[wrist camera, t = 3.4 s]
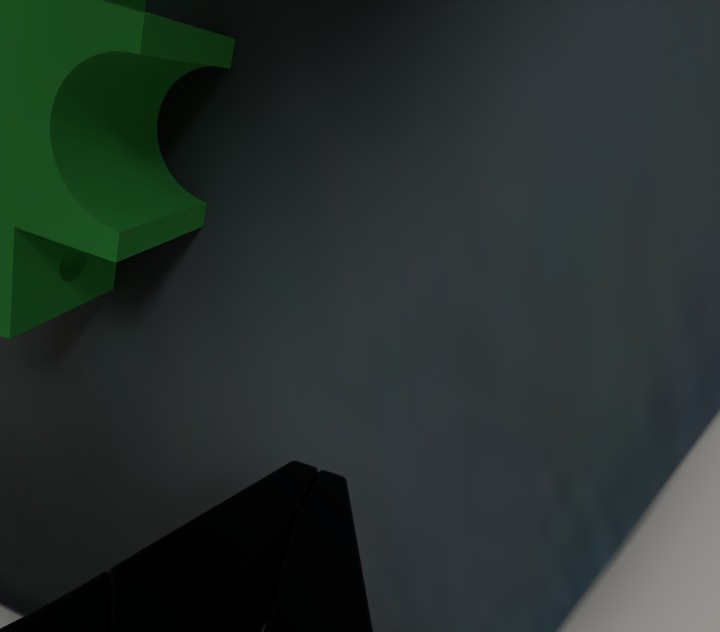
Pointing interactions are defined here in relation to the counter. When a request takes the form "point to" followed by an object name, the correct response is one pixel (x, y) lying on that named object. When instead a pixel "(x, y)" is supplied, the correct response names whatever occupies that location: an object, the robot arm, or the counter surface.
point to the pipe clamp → (86, 147)
